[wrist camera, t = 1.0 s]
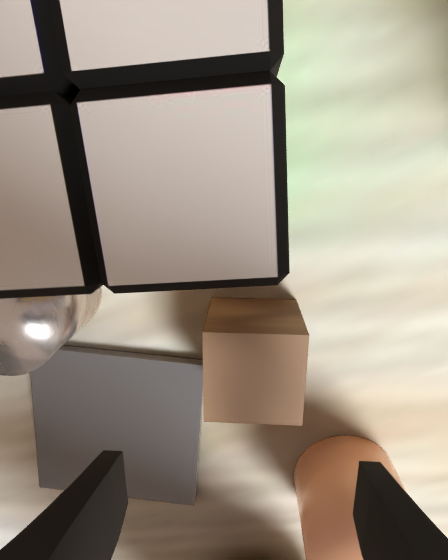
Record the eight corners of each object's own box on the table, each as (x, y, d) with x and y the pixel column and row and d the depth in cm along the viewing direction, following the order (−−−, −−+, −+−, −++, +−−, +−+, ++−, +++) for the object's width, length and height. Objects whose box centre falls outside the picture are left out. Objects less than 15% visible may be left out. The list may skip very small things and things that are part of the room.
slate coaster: (205, 360, 21) (204, 365, 21) (195, 497, 24) (194, 505, 24) (34, 342, 22) (28, 346, 21) (44, 479, 24) (39, 487, 24)
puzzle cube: (38, 21, 17) (-236, -170, 7) (260, -6, 16) (278, -258, 6) (79, 239, 20) (-79, 307, 10) (270, 227, 19) (292, 288, 9)
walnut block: (296, 298, 20) (309, 335, 16) (291, 373, 21) (302, 425, 17) (211, 297, 20) (202, 332, 16) (212, 370, 21) (203, 421, 17)
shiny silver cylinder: (101, 246, 20) (54, 272, 15) (102, 332, 21) (59, 381, 16) (8, 238, 20) (-67, 260, 15) (16, 323, 21) (-50, 369, 17)
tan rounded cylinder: (403, 441, 22) (458, 537, 16) (382, 518, 24) (425, 630, 18) (301, 429, 22) (320, 521, 16) (288, 507, 24) (300, 614, 18)
